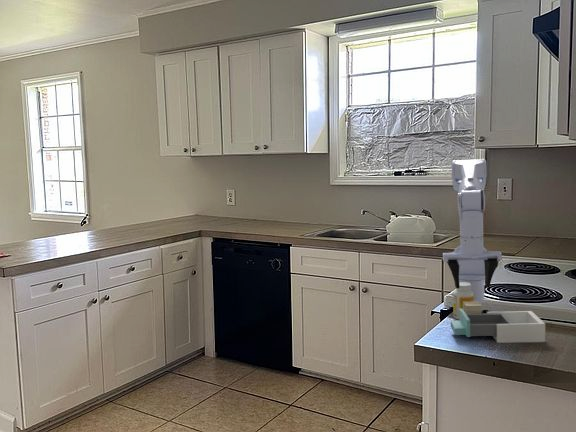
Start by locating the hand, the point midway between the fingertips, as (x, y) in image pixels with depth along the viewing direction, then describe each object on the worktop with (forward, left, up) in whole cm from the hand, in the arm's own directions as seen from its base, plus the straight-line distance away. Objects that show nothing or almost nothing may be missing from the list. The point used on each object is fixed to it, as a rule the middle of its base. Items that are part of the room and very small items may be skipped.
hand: (472, 287), depth 142 cm
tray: (+8, 0, -9) cm, 12 cm away
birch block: (0, 0, -10) cm, 10 cm away
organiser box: (+8, +8, -10) cm, 16 cm away
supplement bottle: (-7, -1, -11) cm, 12 cm away
